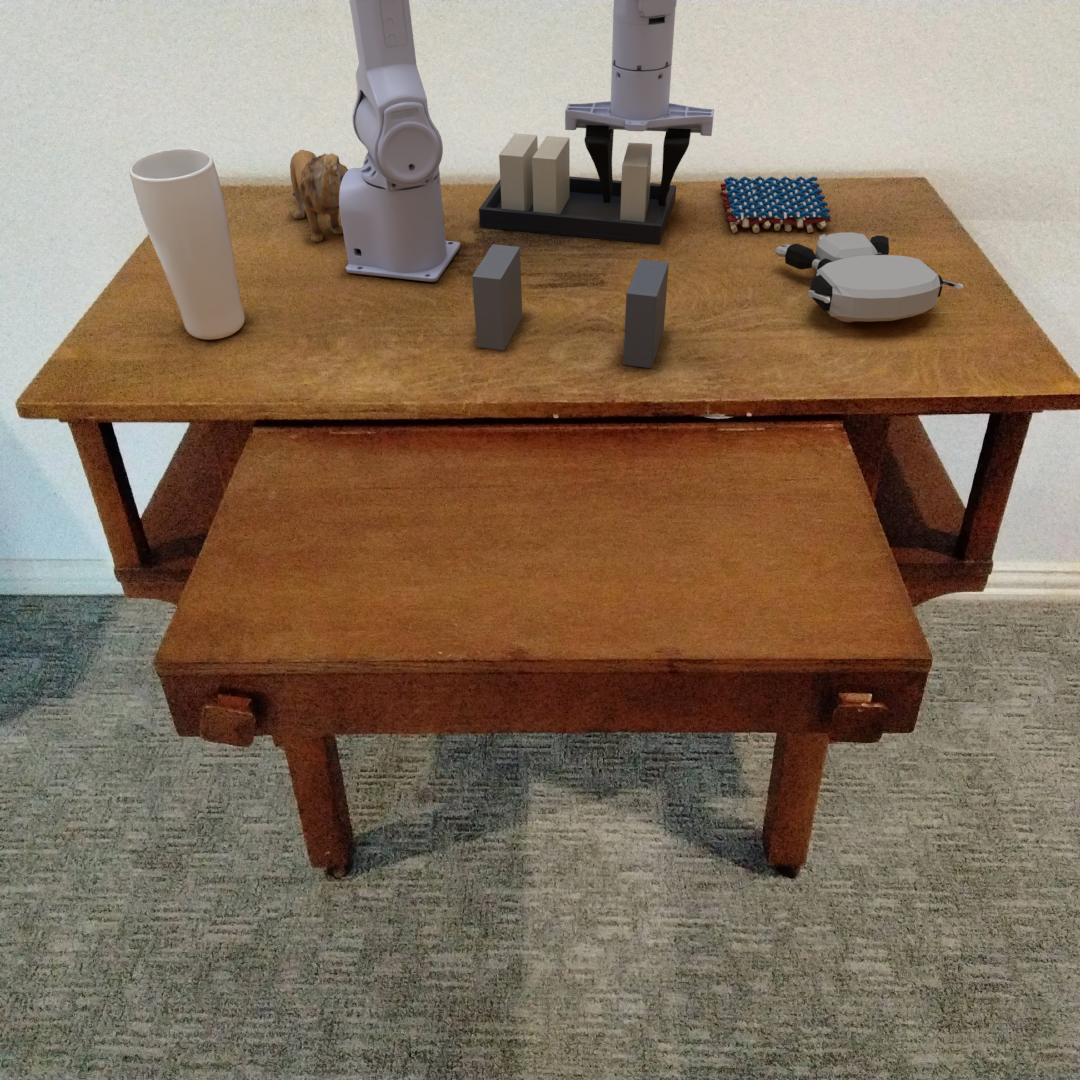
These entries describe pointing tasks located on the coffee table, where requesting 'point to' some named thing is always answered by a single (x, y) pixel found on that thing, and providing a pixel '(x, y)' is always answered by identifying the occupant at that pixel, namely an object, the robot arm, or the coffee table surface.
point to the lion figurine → (317, 188)
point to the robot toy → (865, 278)
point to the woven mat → (774, 203)
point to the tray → (584, 214)
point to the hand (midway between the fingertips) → (635, 200)
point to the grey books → (503, 304)
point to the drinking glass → (191, 237)
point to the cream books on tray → (535, 173)
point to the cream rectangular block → (636, 182)
